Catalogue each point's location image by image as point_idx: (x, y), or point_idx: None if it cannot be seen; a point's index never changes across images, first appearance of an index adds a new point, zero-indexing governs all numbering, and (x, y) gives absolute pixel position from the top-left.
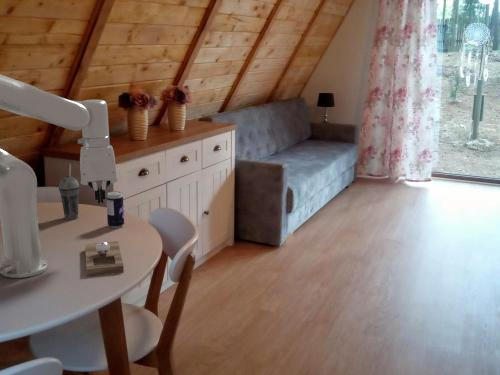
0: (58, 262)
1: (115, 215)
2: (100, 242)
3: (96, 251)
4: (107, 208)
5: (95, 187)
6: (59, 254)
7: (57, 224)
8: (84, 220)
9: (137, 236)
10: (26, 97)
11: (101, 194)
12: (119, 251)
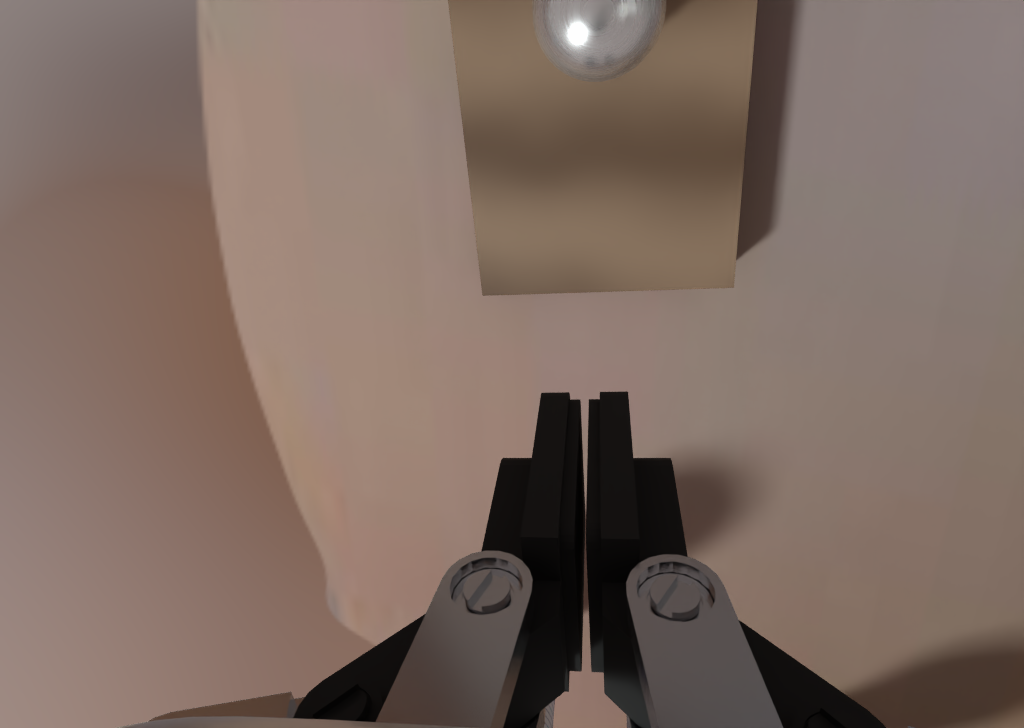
0: (979, 42)
1: None
2: (620, 1)
3: (655, 97)
4: (548, 709)
5: (679, 625)
6: (932, 225)
7: None
8: None
9: (377, 433)
10: None
11: (555, 478)
12: (461, 58)
